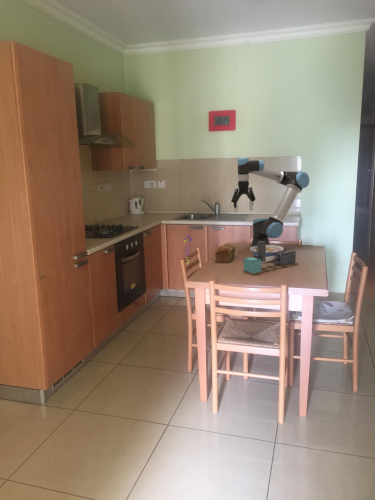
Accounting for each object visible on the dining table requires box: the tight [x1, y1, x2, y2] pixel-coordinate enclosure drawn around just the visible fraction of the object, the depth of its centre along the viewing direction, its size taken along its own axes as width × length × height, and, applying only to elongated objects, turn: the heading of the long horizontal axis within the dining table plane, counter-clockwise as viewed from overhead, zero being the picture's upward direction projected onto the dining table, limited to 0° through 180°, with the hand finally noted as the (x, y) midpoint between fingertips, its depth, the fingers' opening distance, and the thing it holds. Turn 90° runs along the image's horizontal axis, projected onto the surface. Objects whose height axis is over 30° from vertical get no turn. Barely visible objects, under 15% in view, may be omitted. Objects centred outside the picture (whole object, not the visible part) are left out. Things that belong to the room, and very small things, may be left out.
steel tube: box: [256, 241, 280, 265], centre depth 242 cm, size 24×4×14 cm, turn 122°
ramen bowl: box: [249, 244, 285, 258], centre depth 269 cm, size 25×23×8 cm
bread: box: [215, 244, 236, 264], centre depth 271 cm, size 19×11×10 cm, turn 162°
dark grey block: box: [273, 249, 297, 266], centre depth 250 cm, size 13×6×8 cm, turn 122°
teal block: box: [243, 256, 262, 273], centre depth 236 cm, size 6×9×8 cm, turn 32°
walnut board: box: [242, 261, 299, 276], centre depth 245 cm, size 38×9×1 cm, turn 122°
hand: (243, 211), depth 276 cm, fingers open, 13 cm apart
